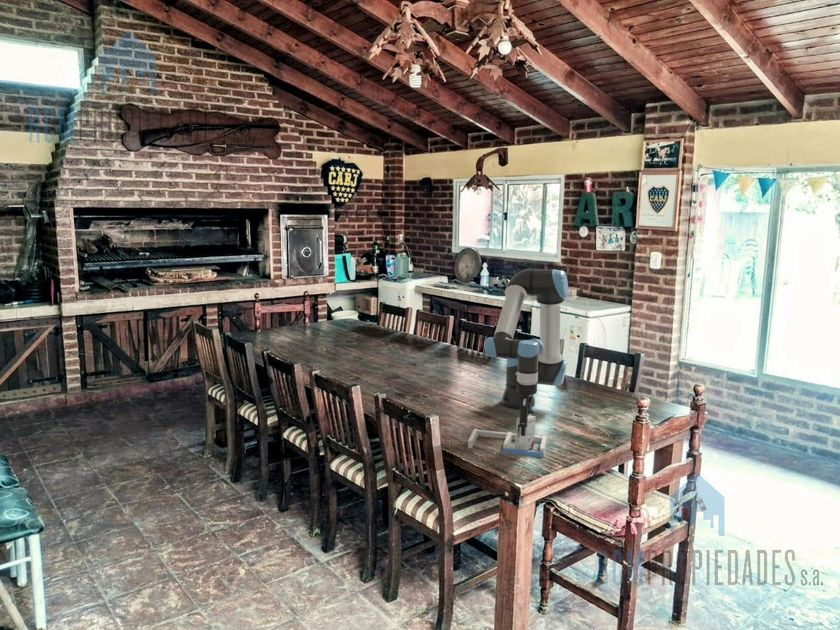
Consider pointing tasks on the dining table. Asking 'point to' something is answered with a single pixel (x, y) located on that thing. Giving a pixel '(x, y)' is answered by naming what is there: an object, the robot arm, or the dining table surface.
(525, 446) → the ink box
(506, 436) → the white and blue frame
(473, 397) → the dining table surface
